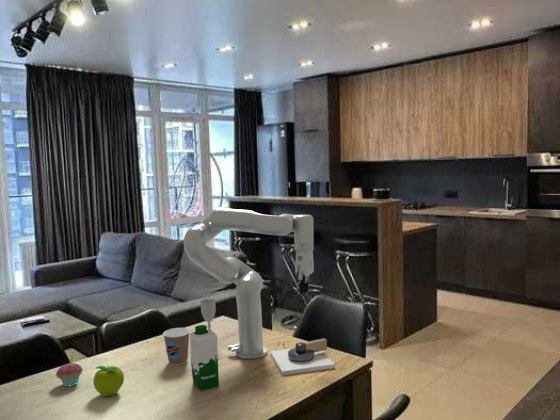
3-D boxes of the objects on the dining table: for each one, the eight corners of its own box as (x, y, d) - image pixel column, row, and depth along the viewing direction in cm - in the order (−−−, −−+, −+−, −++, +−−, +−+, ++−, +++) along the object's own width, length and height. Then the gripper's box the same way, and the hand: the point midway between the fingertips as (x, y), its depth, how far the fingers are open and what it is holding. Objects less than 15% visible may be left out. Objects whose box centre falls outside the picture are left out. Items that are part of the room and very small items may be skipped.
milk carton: (213, 377, 170) (210, 322, 169) (222, 386, 162) (219, 329, 161) (189, 382, 166) (186, 327, 165) (197, 393, 158) (194, 334, 157)
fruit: (107, 403, 153) (105, 373, 153) (89, 396, 158) (87, 368, 158) (130, 391, 161) (128, 363, 160) (112, 385, 166) (110, 358, 165)
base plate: (282, 375, 169) (281, 370, 169) (270, 354, 189) (270, 350, 188) (334, 368, 174) (334, 363, 174) (318, 348, 193) (318, 344, 193)
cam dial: (295, 364, 174) (295, 351, 174) (283, 355, 183) (283, 343, 183) (332, 355, 181) (332, 342, 181) (319, 347, 190) (318, 335, 190)
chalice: (219, 338, 210) (217, 298, 209) (216, 343, 203) (214, 302, 202) (203, 338, 211) (201, 298, 209) (199, 344, 204) (197, 303, 203)
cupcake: (88, 380, 172) (86, 348, 171) (71, 390, 164) (68, 357, 163) (69, 377, 174) (67, 346, 174) (51, 387, 166) (48, 354, 166)
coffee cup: (159, 365, 183) (157, 335, 182) (174, 355, 192) (173, 326, 191) (181, 368, 179) (180, 337, 178) (196, 358, 188) (194, 328, 187)
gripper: (307, 249, 177) (307, 297, 179) (318, 243, 191) (318, 288, 193) (288, 248, 180) (288, 295, 181) (300, 243, 194) (300, 286, 195)
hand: (304, 291), depth 187 cm, fingers closed
